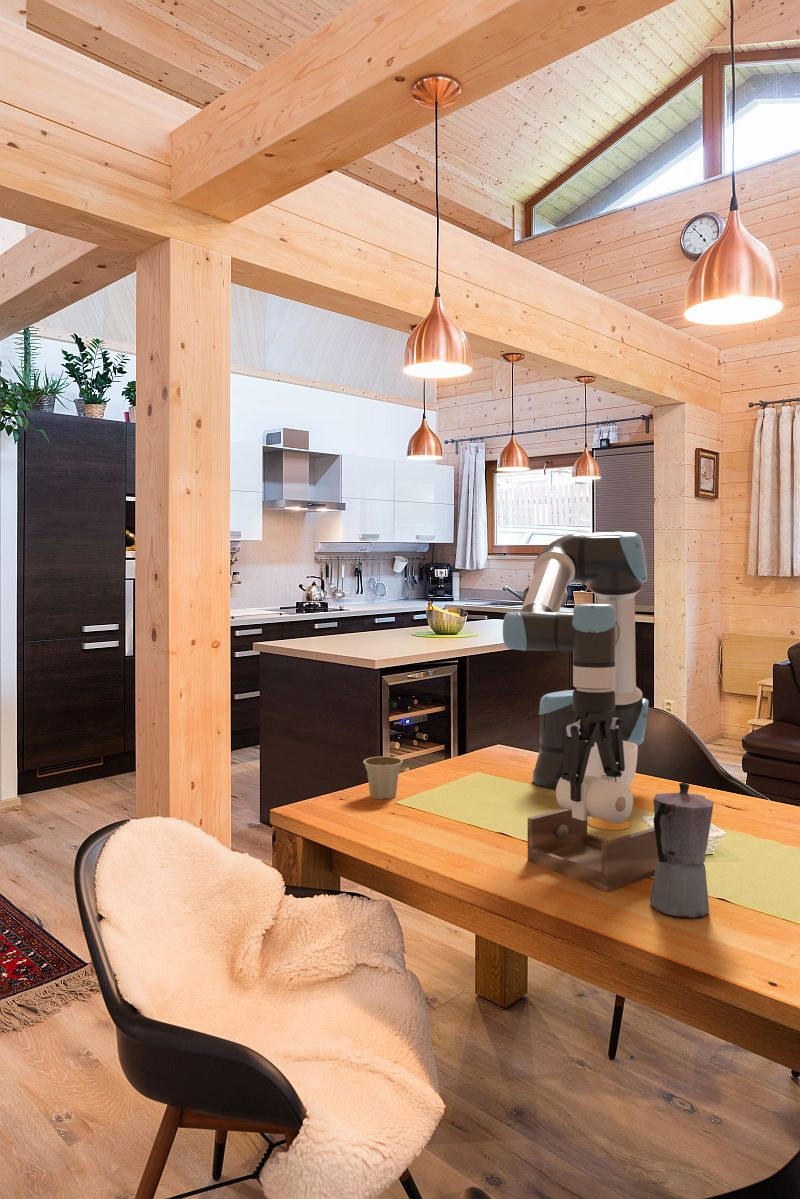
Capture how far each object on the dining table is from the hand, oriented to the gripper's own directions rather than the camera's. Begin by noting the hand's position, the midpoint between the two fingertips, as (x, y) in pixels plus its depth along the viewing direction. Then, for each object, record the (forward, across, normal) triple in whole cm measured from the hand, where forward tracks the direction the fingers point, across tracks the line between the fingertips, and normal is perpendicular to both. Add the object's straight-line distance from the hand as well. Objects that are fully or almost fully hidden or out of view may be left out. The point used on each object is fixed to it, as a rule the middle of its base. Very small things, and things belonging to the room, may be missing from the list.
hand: (593, 814), depth 149 cm
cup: (+10, -22, -15) cm, 29 cm away
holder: (+10, 0, 0) cm, 10 cm away
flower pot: (+10, +4, -62) cm, 63 cm away
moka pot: (+10, +4, +21) cm, 23 cm away
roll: (0, +1, 0) cm, 1 cm away
